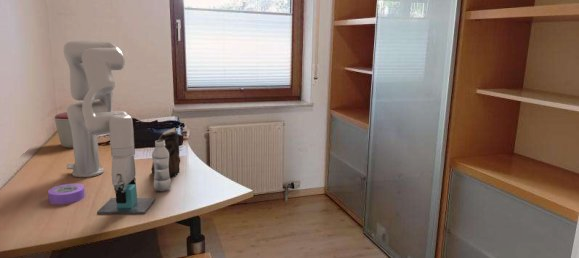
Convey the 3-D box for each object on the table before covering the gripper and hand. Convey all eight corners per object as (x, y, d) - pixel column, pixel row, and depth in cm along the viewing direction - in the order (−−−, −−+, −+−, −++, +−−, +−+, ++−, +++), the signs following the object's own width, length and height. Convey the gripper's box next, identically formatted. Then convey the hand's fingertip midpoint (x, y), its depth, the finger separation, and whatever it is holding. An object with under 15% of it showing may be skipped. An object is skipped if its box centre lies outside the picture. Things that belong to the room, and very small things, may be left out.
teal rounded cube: (117, 207, 139) (115, 189, 138) (122, 201, 144) (121, 184, 143) (132, 207, 139) (130, 189, 138) (137, 201, 144) (135, 184, 143)
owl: (178, 168, 185) (176, 125, 180) (188, 176, 174) (186, 131, 170) (150, 172, 178) (148, 128, 173) (158, 181, 167) (156, 134, 163)
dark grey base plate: (97, 214, 136) (95, 196, 134) (111, 200, 147) (110, 183, 146) (144, 214, 136) (143, 196, 135) (155, 200, 148) (154, 184, 147)
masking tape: (76, 190, 157) (75, 181, 156) (90, 198, 150) (89, 188, 149) (44, 199, 148) (42, 189, 147) (57, 207, 141) (55, 197, 140)
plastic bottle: (162, 194, 153) (159, 144, 149) (150, 190, 157) (147, 141, 152) (175, 189, 159) (172, 140, 154) (163, 186, 162) (160, 138, 158)
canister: (83, 150, 211) (79, 111, 206) (49, 149, 211) (44, 110, 206) (99, 141, 229) (96, 105, 224) (68, 141, 229) (64, 104, 224)
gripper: (121, 144, 146) (125, 188, 149) (101, 158, 129) (105, 207, 133) (142, 144, 146) (145, 188, 150) (124, 158, 129) (128, 207, 133)
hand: (126, 197), depth 141 cm, fingers open, 9 cm apart
